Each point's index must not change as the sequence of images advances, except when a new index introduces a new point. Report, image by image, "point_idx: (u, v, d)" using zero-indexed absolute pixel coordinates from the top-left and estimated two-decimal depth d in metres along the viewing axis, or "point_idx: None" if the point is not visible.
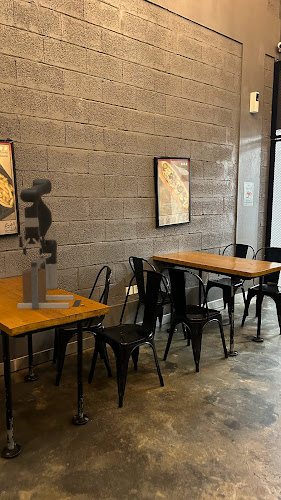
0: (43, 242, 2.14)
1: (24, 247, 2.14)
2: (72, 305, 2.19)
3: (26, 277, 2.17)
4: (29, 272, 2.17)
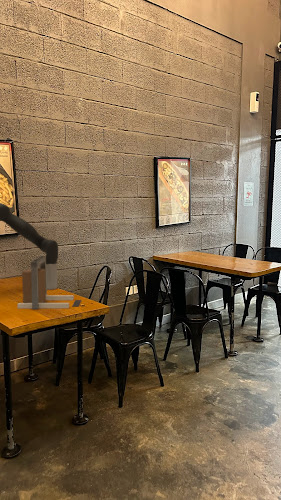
0: None
1: None
2: (72, 305, 2.19)
3: (26, 277, 2.17)
4: (29, 272, 2.17)
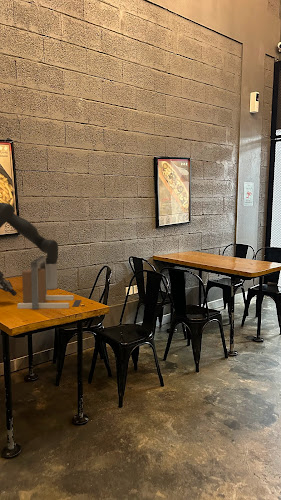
0: None
1: None
2: (72, 305, 2.19)
3: (26, 277, 2.17)
4: (29, 272, 2.17)
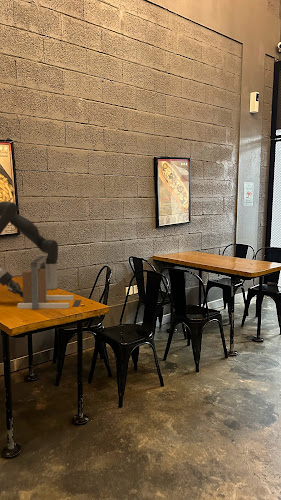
0: None
1: None
2: (72, 305, 2.19)
3: (27, 277, 2.17)
4: (29, 272, 2.17)
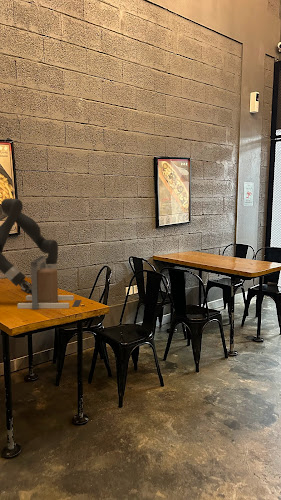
0: None
1: None
2: (72, 305, 2.19)
3: (39, 277, 2.17)
4: (42, 272, 2.16)
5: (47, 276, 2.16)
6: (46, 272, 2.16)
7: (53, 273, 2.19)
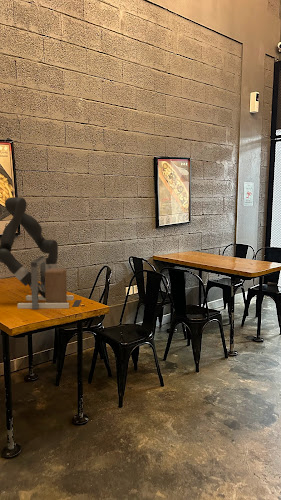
0: None
1: None
2: (72, 305, 2.19)
3: (49, 277, 2.17)
4: (52, 272, 2.17)
5: (57, 276, 2.16)
6: (56, 272, 2.16)
7: (63, 273, 2.19)
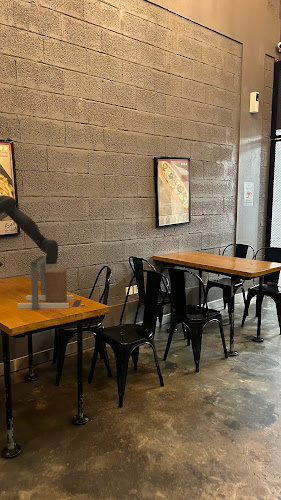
0: None
1: None
2: (72, 305, 2.19)
3: (49, 277, 2.17)
4: (52, 272, 2.17)
5: (57, 276, 2.16)
6: (56, 272, 2.16)
7: (63, 273, 2.19)
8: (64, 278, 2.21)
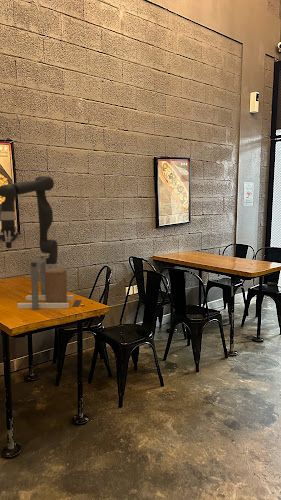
0: (14, 237, 2.28)
1: (7, 241, 2.28)
2: (72, 305, 2.19)
3: (49, 277, 2.17)
4: (52, 272, 2.17)
5: (57, 276, 2.16)
6: (56, 272, 2.16)
7: (63, 273, 2.19)
8: (64, 278, 2.21)
